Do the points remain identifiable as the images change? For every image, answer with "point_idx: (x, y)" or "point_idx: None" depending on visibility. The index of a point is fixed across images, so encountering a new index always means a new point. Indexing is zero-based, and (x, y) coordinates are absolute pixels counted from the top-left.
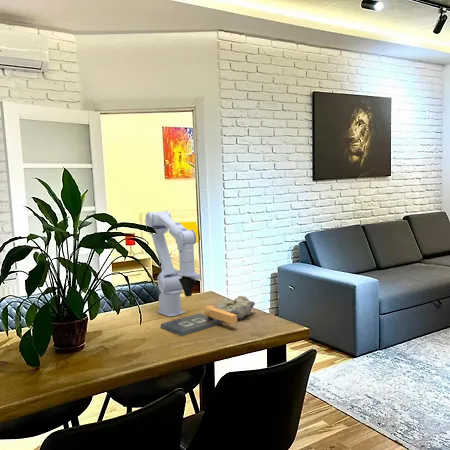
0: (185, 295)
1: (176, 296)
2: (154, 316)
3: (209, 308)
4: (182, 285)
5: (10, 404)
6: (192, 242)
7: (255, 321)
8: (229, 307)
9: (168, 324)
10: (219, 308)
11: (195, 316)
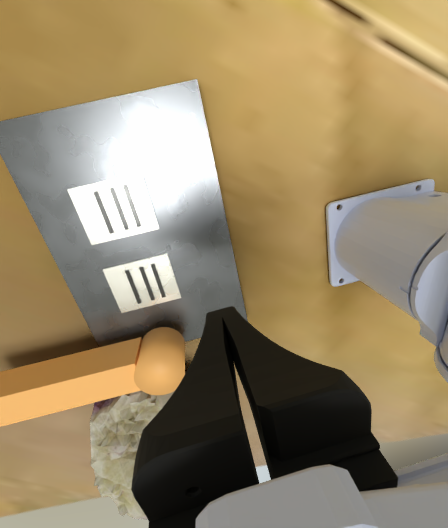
0: (229, 308)
1: (395, 282)
2: (390, 140)
3: (136, 366)
4: (268, 352)
5: None
6: None
7: (86, 445)
8: (121, 438)
9: (163, 119)
10: (150, 402)
11: (217, 293)
